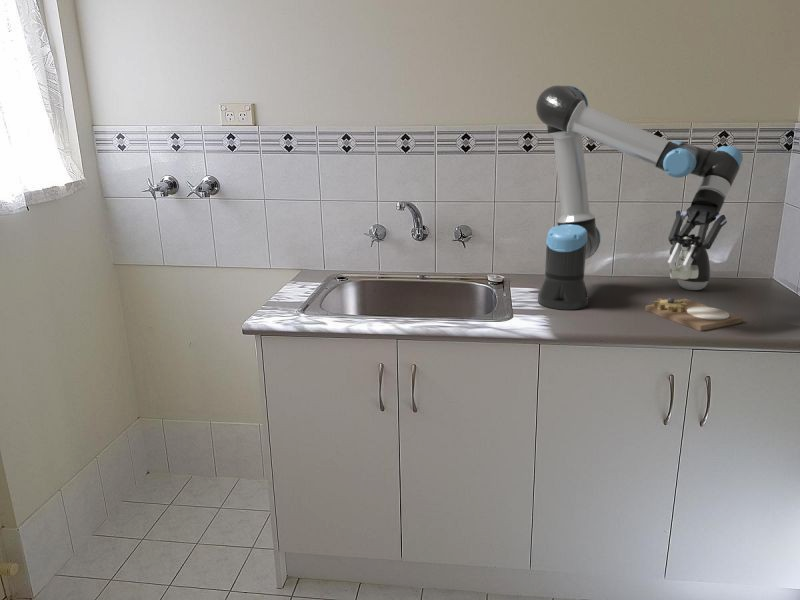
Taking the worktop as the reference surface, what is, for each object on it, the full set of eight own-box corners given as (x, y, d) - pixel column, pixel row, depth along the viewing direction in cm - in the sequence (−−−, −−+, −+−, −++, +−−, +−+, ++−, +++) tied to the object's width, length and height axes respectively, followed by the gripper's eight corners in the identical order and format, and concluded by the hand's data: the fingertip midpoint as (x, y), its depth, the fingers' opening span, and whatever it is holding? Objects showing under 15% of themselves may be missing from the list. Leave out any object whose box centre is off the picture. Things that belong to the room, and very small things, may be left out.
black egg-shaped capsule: (708, 285, 214) (714, 241, 209) (708, 294, 205) (714, 247, 200) (675, 282, 218) (681, 238, 214) (674, 290, 209) (679, 245, 205)
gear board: (645, 310, 190) (646, 296, 189) (684, 303, 196) (686, 290, 195) (700, 331, 172) (702, 316, 171) (741, 322, 179) (744, 308, 177)
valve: (699, 283, 171) (702, 240, 167) (672, 283, 172) (675, 240, 168) (693, 274, 177) (697, 233, 173) (668, 275, 178) (670, 234, 174)
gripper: (744, 207, 173) (712, 279, 167) (684, 202, 184) (652, 269, 178) (739, 190, 168) (706, 263, 162) (677, 185, 179) (644, 254, 173)
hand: (677, 266), depth 170 cm, fingers closed on valve, 3 cm apart
